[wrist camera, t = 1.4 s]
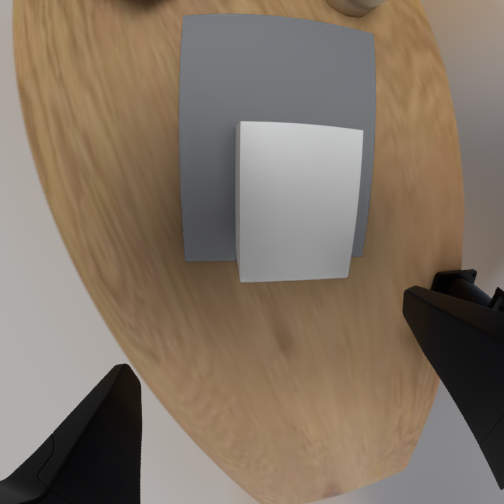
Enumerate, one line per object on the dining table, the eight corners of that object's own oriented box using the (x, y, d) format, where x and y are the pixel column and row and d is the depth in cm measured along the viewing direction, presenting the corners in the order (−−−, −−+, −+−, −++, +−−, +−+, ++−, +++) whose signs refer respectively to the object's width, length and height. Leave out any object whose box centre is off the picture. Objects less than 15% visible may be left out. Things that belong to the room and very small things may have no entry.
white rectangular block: (328, 130, 17) (363, 130, 13) (320, 245, 20) (347, 277, 16) (235, 125, 17) (240, 121, 12) (235, 247, 20) (240, 282, 15)
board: (368, 36, 15) (373, 33, 14) (357, 252, 22) (362, 256, 21) (184, 20, 14) (183, 15, 13) (186, 257, 20) (185, 262, 20)
